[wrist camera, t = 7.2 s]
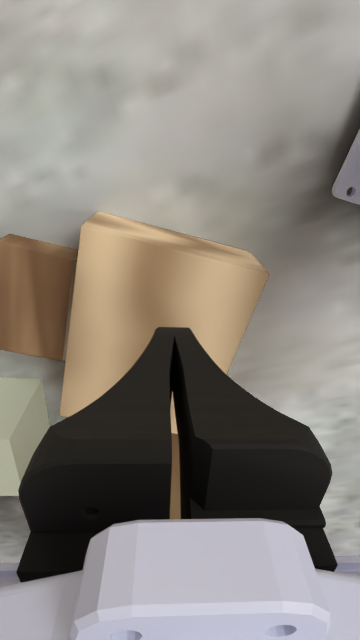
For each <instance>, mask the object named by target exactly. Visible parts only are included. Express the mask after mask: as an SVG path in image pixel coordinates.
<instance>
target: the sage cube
mask: <svg viewBox="0 0 360 640" xmlns="http://www.w3.org/2000/svg"><path fill="white" fill-rule="evenodd" d="M49 427H50V425H49V419H48V413H47V406H46V400H45V394H44V388H43V382H42V379H29V378H4V377H0V496H19V492H18V489H19V486H20V483H21V480H22V478H23V476H24V474H25V471H26V469H27V467H28V464H29V462H30V460H31V458H32V456H33V454H34V452H35V450H36V448H37V447H38V445H39V443H40V442H41V440H42V438H43V437H44V435H45V434H46V432H47V430H48V429H49Z"/></svg>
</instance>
